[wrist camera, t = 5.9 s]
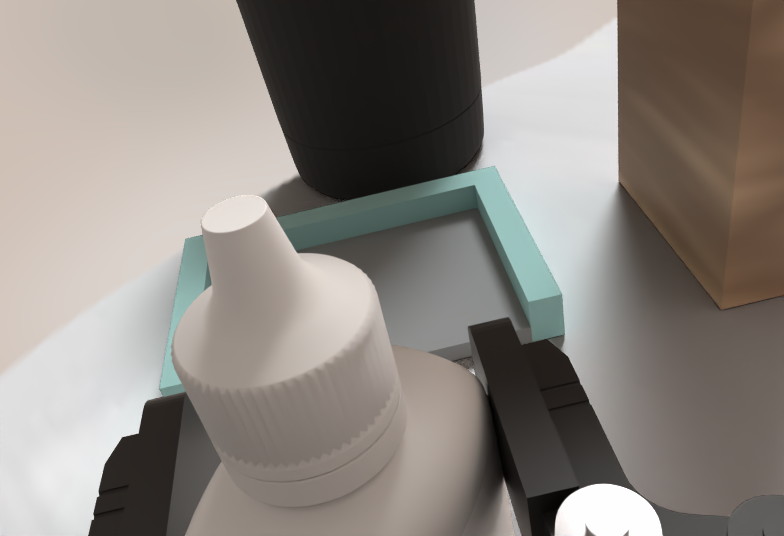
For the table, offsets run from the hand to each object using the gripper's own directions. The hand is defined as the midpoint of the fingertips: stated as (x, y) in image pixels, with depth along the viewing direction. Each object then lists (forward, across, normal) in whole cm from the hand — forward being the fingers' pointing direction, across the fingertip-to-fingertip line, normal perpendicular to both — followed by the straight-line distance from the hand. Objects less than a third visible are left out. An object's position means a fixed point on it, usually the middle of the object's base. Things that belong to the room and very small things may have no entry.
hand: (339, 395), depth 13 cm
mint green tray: (+10, 0, +6) cm, 12 cm away
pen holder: (+21, -2, +7) cm, 22 cm away
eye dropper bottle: (-3, 0, +7) cm, 7 cm away
